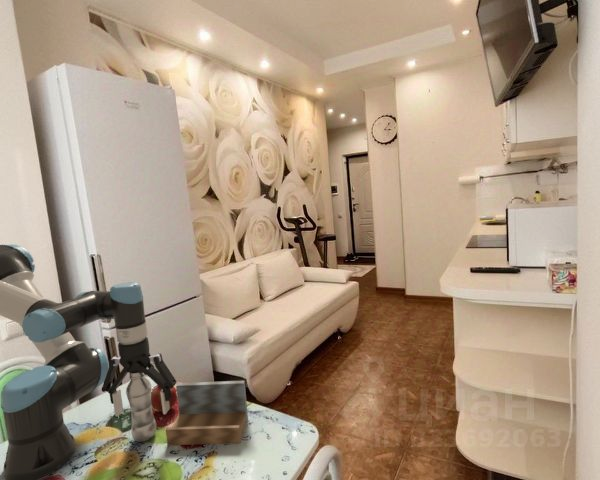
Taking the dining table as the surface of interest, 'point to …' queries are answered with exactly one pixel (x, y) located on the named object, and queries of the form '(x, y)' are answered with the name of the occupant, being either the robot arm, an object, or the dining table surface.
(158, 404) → the fruit
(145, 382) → the silver metal bottle
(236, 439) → the brown wooden box
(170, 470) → the dining table surface
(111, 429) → the dining table surface
